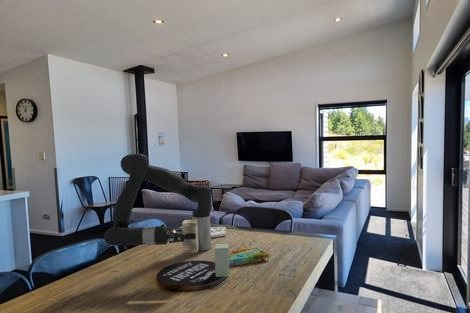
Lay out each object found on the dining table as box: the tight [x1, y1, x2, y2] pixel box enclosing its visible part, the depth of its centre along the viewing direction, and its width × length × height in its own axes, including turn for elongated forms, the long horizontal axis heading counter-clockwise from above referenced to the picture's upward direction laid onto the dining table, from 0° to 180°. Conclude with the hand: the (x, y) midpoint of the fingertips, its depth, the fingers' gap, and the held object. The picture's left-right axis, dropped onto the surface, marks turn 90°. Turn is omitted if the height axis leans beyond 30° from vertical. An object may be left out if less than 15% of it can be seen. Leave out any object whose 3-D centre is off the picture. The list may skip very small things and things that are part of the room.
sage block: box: [214, 243, 230, 278], centre depth 142 cm, size 6×6×12 cm
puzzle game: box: [229, 246, 269, 267], centre depth 159 cm, size 12×5×20 cm
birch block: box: [181, 219, 199, 254], centre depth 140 cm, size 6×6×12 cm
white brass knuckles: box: [210, 226, 227, 239], centre depth 204 cm, size 3×18×15 cm
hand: (196, 234), depth 140 cm, fingers closed on birch block, 5 cm apart
